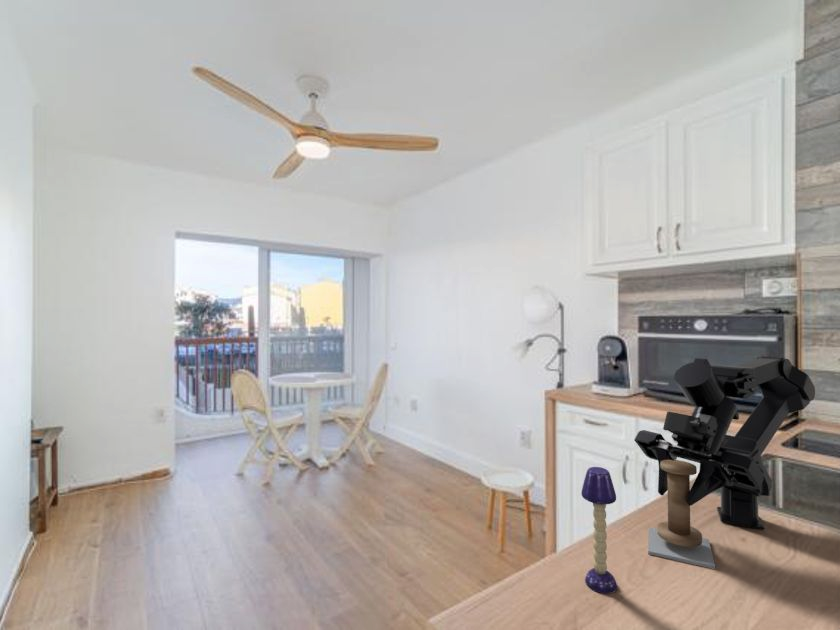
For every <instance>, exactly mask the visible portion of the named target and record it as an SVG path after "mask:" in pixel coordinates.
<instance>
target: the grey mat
mask: <svg viewBox="0 0 840 630" xmlns="http://www.w3.org/2000/svg"><path fill="white" fill-rule="evenodd" d="M711 548H712V547H711V544H710V540H709V538H705V537H702V544H701V545H699V546H696V547H685V546H679V545H675V544H672V543H670V542H667V541H665V540H664V539H662V538H661V537H660V536H659V535H658V533H657V528H656V527H655V528H654V527H648V549H647V554H648V555H651V556H656V557H659V558H665V559H669V560H674V561H677V562H681V563H687V564H689V565H695V566H698V567H699V566H701V567H704V568H709V569H713V570H715V569H716V565H715V561H714V556H713V551H712V549H711Z"/></svg>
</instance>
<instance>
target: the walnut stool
mask: <svg viewBox="0 0 840 630" xmlns="http://www.w3.org/2000/svg"><path fill="white" fill-rule="evenodd" d="M660 468H661V469H662V470H664V471H666V472H667V486H668V490H667V521H663V522H660V523H658V524H657V525H656V526H657V528H656V529H657V533H658V535H659V536H660V537H661V538H662V539H664V540H665V541H667V542H670V543H672V544H675V545H679V546H685V547H696V546H699V545H701V544H702V538H703V534H702V532H701V531H699V530H698V529H697V528H695V527H693V526H691V506H690V505H688V504H687V502H686V500H687V497H688V494H689V492H690V490H691V486H690V483H691V482H690V479H691V478H690V476H694V475H696V474H697V470H698V469H697V465H695V464H694V463H690V462H689V461H688V462H687V461H685V460H678V459H676V460H663V461H661V462H660Z"/></svg>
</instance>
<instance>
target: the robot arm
mask: <svg viewBox="0 0 840 630" xmlns="http://www.w3.org/2000/svg"><path fill="white" fill-rule="evenodd" d="M673 377H674V381H675V383H676V384H677V385H678V387H679V389H680V391H681V392H682V393H683V395H684V397H685V398H686V400H687V401H688V403H690V405H692V406H694V409H693V412H692V413H691V415H690V414H684V413H681V412H680V413H679V412H676V411H675V412H674V411H666V415H665V419H664V424H663V428H662V429H663V430H664V431H668V432H670V433H671V438H672V440H673V441H674V442H677V445H676V444H673V443H671V442H669V441H667V440H666V439H665V438H664V436H663V434H661V433H657V432H653V431H650V430H644V429H643V430H639V431H638V432H637V434H636V435H635V438H634V439H633V441H634V442H635V443H636V445H637V446H638V448H640V449H641V451H642V453H644V455H645V456H646V457H647V458H649V459H651V460H655V461H657V463H658V482H657V483H658V484H657V493H658V494H659V495H660V496H664V495H665V494H666V493H667V492H668V486H667V472H666V471H664V470H662V469H661V468H660V462H661V461H663V460H678V458H680V459H684V460H687V461H691V462H695V463H698V464H699V471H698V474H697V476H696V477H695V480H694V482H693V484H692V486H691V487H690V492H689V494H688V497H687V500H686V502H687V504H688V505H690V507H691V506H693V505H694V504H696V503H698V502H699V501H700V500H702V499H704V498H705V497H707V496H708V495H710V494H712V493H713V492H715V491H717V490H720V506H717V507H716V511H717V514H718V516H719V520H720V522H722V523H724V524H725V523H726V524H731V525H736V526H742V527H747V528H753V529H757V530H765V525H764V523H763V521H762V519H761V517H760V516H759V497H762V496H766V497H770V496H771V491H772V488H773V485H772V484H773V479H772V477H771V476H770V475H769V473H768V471H767V470H766V468H765V466H764V462H763V459H762V454H763V452H764V451H765V450H766V448H767V447H768V445H769V443H771V441H772V439H773V438H774V436H775V434H777V432H778V430H779V429H780V427H781V425H782V424H783V423H784V422H785V421H786V419H787V417H788V416H789V415H790V414H793V413H796V412H801V411H803V410H805V408H807V406H809V404H811V402H812V401H813V400H814V399H815V396H816V389H815V388H816V387H815V385H814V383H813V380H811V378H810V377H809V375H808V374H807V373H806V372H804V371H803V370H800V369H799V368H797V367H796V366H794V365H793V364H792V362H791V361H790V359H789V358H786V357H784V356H783V357H782V356H766V355H764V356H763V355H762V356H758V357H757V358H756V359H753V360H750V361H746V362H743V363H740V364H737V365H722V364H721V365H719V364H718V365H717V364H716V365H715V364H710V361H709V360H708V358H698V357H695V358H694V360H693V362H689V363H687V364H684V365H682V366H681V367H680V368H678V369H677V370H676V371H675V373H674V376H673ZM757 388H758V390H759V391H760V393H761V396H762V397H761V398H762V399H761V400H760V401H759V403H758V404H757V405H756V406H755V408H754V409H753V410H752V412H751V413H750V415H749V416H748V417H747V419H746V420H745V421H744V423H743V424H742V425H741V427H740V428H739V430H738V431H737V432H736V434H735V435H729V434H727V433H728V430H729V428H730V426H731V424H732V421H733V420H735V421H739V419H740V414H739V411H738V407H737V405H736V403H735V402H734V400H733V399H738V400H748V399H749V398H750V397H752V396H753V395H755V393H757Z"/></svg>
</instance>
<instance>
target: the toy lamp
mask: <svg viewBox="0 0 840 630" xmlns="http://www.w3.org/2000/svg"><path fill="white" fill-rule="evenodd" d="M616 494H617V493H616V490H615V486H614V484H613V481H612V477H611V473H610V472H609V470H608V469H607V468H604V467H601V466H600V467H599V466H592V467H591V466H590V467H588V469H587V470H586V473H585V476H584V480H583V483H582V487H581V496H582V498H583V499H584V500H585V501H587V502H590V503H592V506H593V511H592V514H593V515H592V516H593V518H594V519H593V521H592V522H593V528H594V529H593V538H594V541H593V549H594V551H593V558H594V562H593V568H591V569H590V570H588V571H587V573H586V574H585V575H586V576H585V577H584V578H585V579H584V582H585V584H586V585H587V587H588V588H590V589H592V590H593V591H595V592H596V593H597V592H598V593H601V594H611V593H612V594H613V593H614V592H616V591H617V589H618V585H617V581H616V580H617V579H615V576H614V575H613V574H612V573H611V572H610V571H609V570H607V569H608V565H607V559H608V556H607V552H606V551H607V548H608V544H607V539H608V538H607V537H608V533H607V531H606V529H607V521H606V520H607V511H606V507H607V505H611V504H614V503H615V502H616V501H617V495H616Z"/></svg>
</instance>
